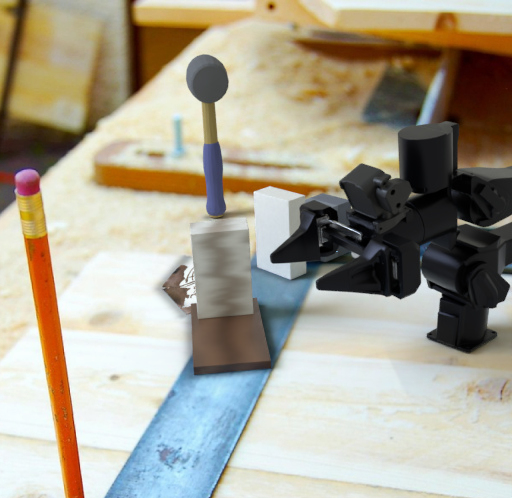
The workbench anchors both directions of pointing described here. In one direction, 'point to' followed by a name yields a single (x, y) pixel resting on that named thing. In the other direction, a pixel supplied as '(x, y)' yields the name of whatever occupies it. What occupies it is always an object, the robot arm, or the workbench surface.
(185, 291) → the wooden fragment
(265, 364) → the marble panel stand
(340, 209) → the grey box
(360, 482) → the workbench surface
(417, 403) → the workbench surface
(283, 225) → the white rectangular block
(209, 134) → the rubber mallet
